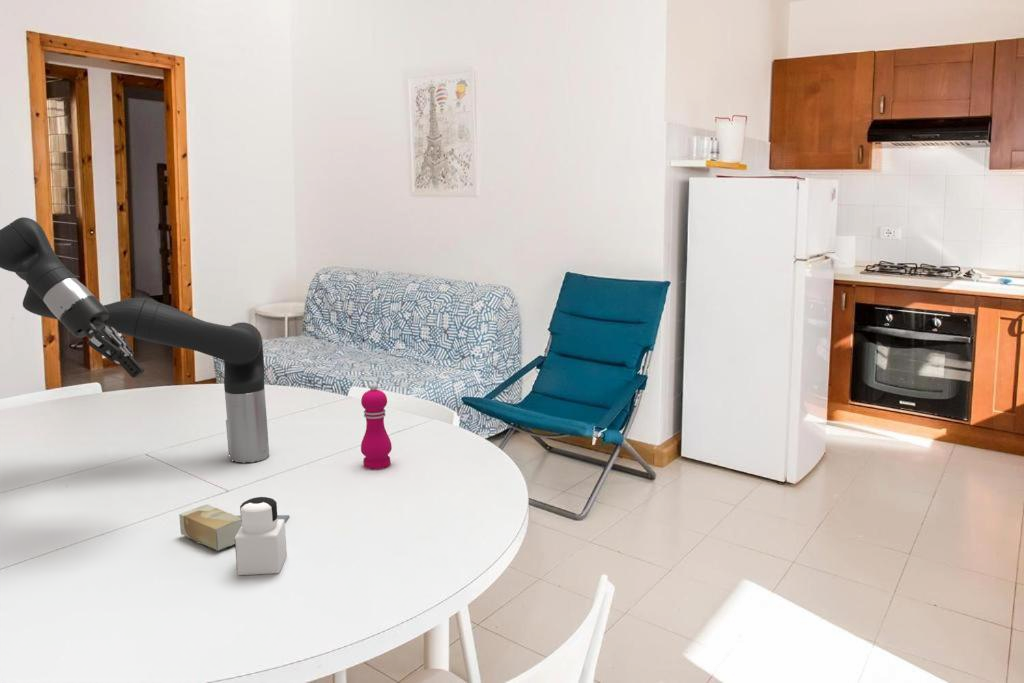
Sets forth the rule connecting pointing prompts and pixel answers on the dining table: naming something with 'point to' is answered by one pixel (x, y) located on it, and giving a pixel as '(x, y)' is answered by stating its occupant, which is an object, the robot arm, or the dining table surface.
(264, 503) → the medicine bottle
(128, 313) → the robot arm
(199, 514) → the skincare box
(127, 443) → the dining table surface
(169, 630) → the dining table surface
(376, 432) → the pepper mill
